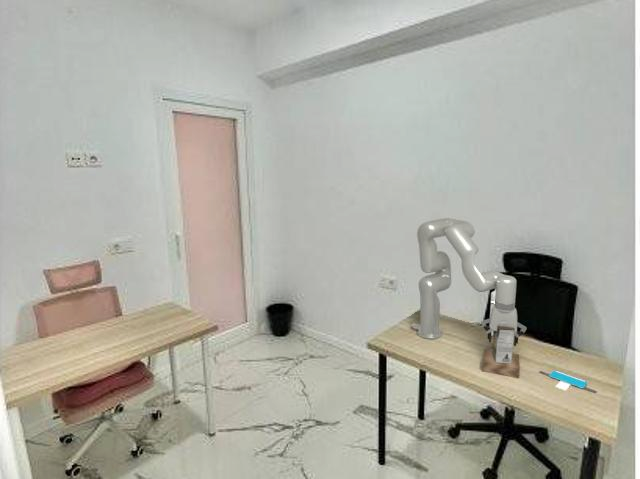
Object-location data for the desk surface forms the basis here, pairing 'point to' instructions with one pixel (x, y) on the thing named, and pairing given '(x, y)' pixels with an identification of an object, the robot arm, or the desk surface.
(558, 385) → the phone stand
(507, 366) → the walnut block
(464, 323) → the desk surface
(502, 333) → the coffee box
